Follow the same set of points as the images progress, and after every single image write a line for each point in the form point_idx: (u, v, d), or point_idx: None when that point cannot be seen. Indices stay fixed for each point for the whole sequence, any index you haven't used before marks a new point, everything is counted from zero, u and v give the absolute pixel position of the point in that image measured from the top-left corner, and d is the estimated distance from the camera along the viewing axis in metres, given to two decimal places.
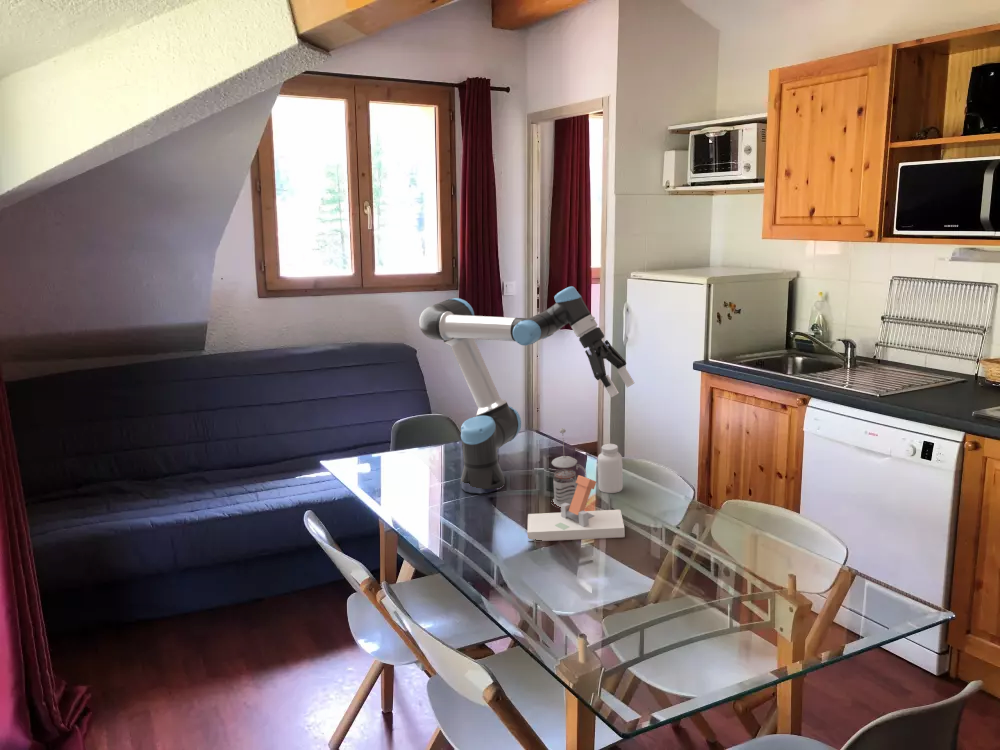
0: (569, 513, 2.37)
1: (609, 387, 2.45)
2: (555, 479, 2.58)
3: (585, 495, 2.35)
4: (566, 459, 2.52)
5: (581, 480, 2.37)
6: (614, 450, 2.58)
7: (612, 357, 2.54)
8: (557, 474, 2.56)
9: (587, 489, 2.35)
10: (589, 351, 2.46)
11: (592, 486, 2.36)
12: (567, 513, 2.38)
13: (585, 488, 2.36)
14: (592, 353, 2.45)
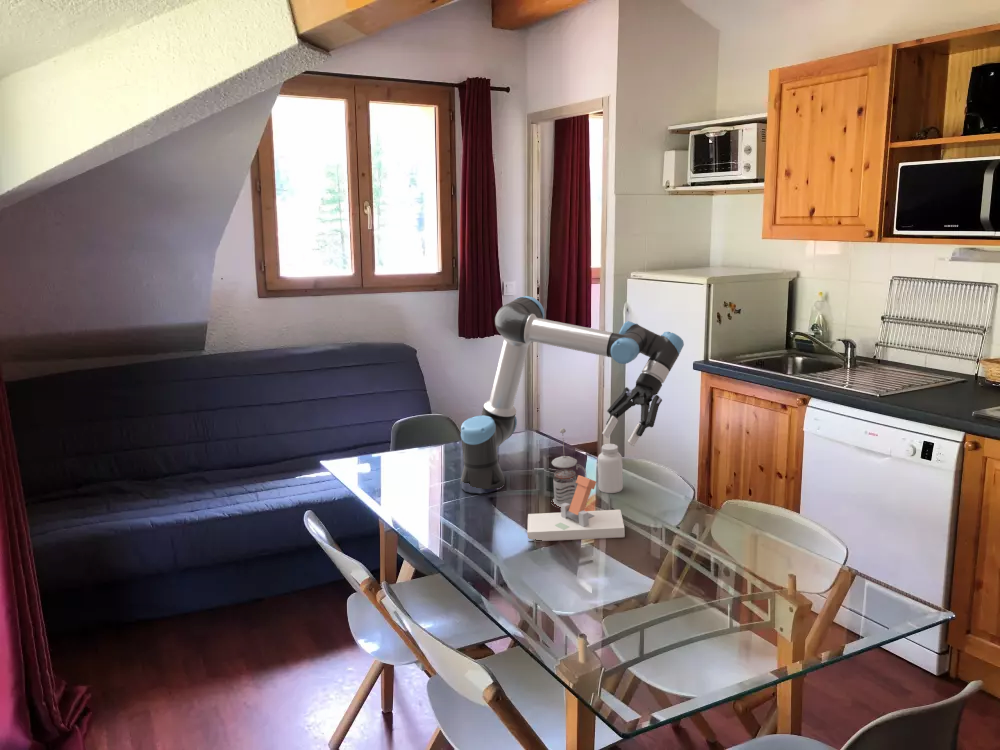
0: (569, 513, 2.37)
1: (636, 435, 2.39)
2: (555, 479, 2.58)
3: (585, 495, 2.35)
4: (566, 459, 2.52)
5: (581, 480, 2.37)
6: (614, 450, 2.58)
7: (628, 407, 2.48)
8: (557, 474, 2.56)
9: (587, 489, 2.35)
10: (659, 400, 2.41)
11: (592, 486, 2.36)
12: (567, 513, 2.38)
13: (585, 488, 2.36)
14: (658, 404, 2.41)
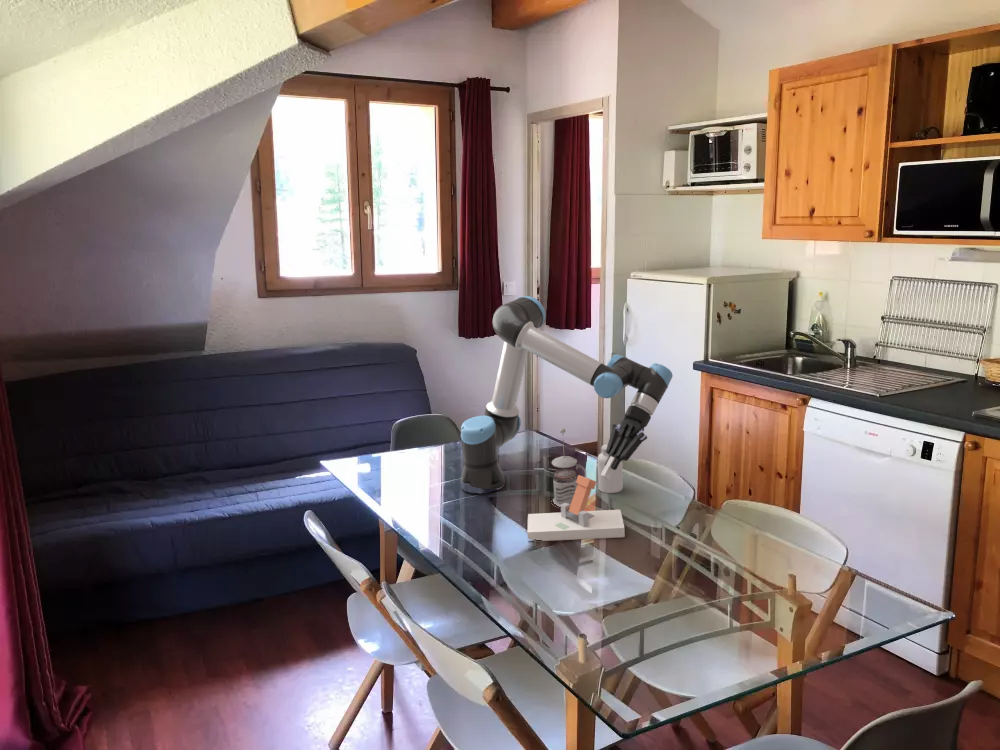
0: (569, 513, 2.37)
1: (610, 469, 2.41)
2: (555, 479, 2.58)
3: (585, 495, 2.35)
4: (566, 459, 2.52)
5: (581, 480, 2.37)
6: None
7: None
8: (557, 474, 2.56)
9: (587, 489, 2.35)
10: (643, 438, 2.40)
11: (592, 486, 2.36)
12: (567, 513, 2.38)
13: (585, 488, 2.36)
14: (641, 441, 2.40)
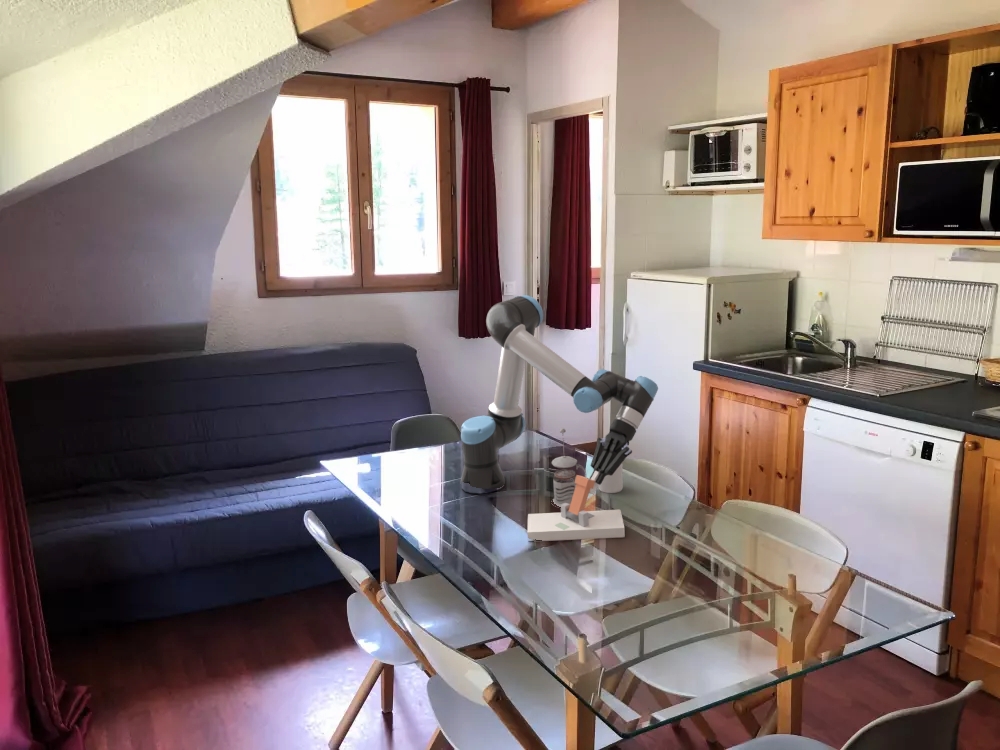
0: (569, 513, 2.37)
1: (595, 484, 2.38)
2: (555, 479, 2.58)
3: (584, 495, 2.35)
4: (566, 459, 2.52)
5: (580, 480, 2.37)
6: None
7: None
8: (557, 474, 2.56)
9: (586, 489, 2.35)
10: (628, 452, 2.37)
11: (591, 485, 2.35)
12: (567, 513, 2.38)
13: (584, 488, 2.35)
14: (626, 455, 2.38)
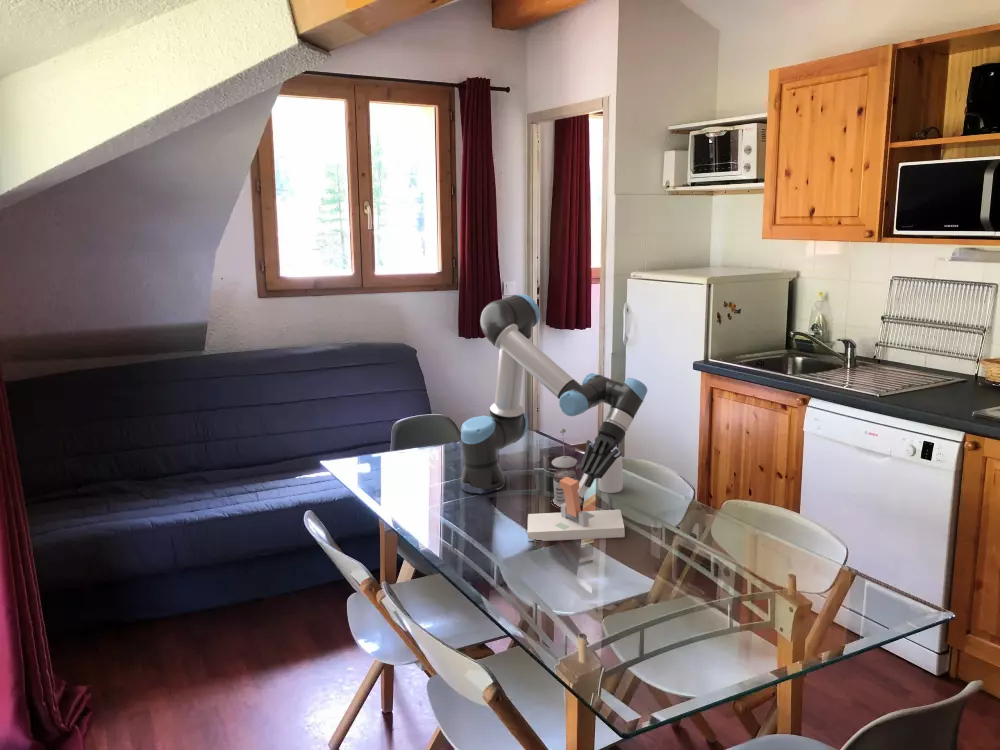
0: (569, 515, 2.37)
1: (584, 487, 2.35)
2: (555, 479, 2.58)
3: (574, 498, 2.33)
4: (566, 459, 2.52)
5: (564, 486, 2.33)
6: None
7: None
8: (557, 474, 2.56)
9: (573, 492, 2.32)
10: (617, 454, 2.34)
11: (576, 487, 2.32)
12: (567, 515, 2.38)
13: (571, 493, 2.32)
14: (616, 457, 2.35)
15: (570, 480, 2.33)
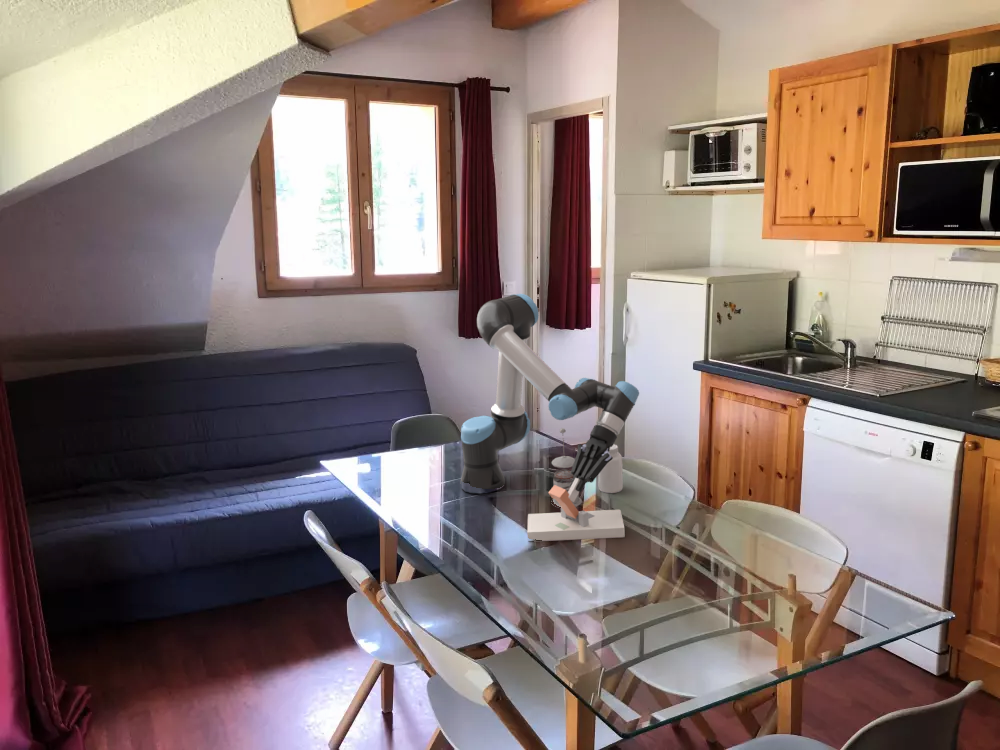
0: (569, 517, 2.37)
1: (575, 491, 2.34)
2: (555, 479, 2.58)
3: (567, 505, 2.32)
4: (566, 459, 2.52)
5: (554, 497, 2.31)
6: (614, 450, 2.58)
7: None
8: (557, 474, 2.56)
9: (565, 501, 2.31)
10: (608, 458, 2.33)
11: (566, 496, 2.30)
12: None
13: (562, 501, 2.31)
14: (607, 461, 2.33)
15: (558, 490, 2.31)
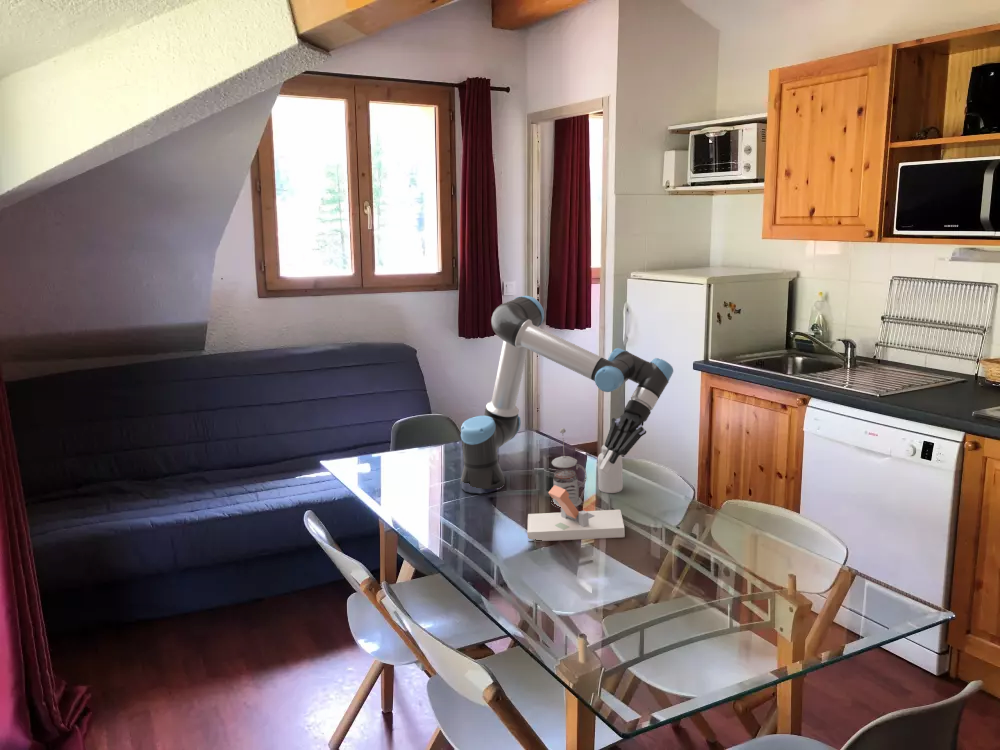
0: (569, 517, 2.37)
1: (609, 463, 2.41)
2: (555, 479, 2.58)
3: (567, 505, 2.32)
4: (566, 459, 2.52)
5: (554, 497, 2.31)
6: None
7: (622, 437, 2.44)
8: (557, 474, 2.56)
9: (565, 501, 2.31)
10: (642, 432, 2.40)
11: (566, 496, 2.30)
12: None
13: None
14: (640, 435, 2.40)
15: (558, 490, 2.31)
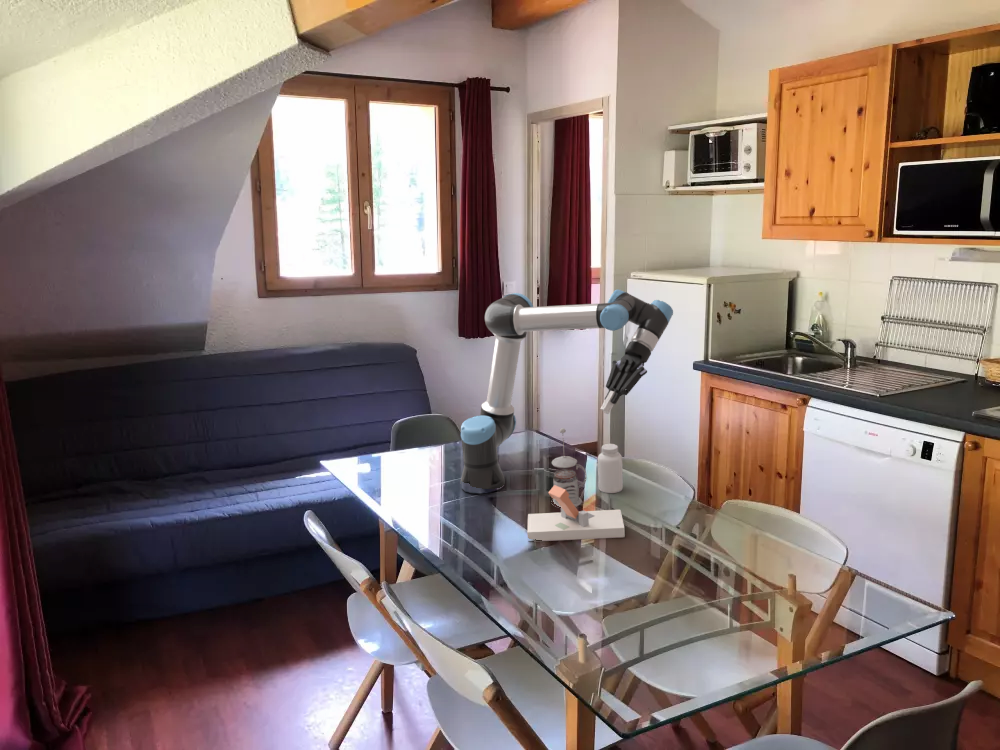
0: (569, 517, 2.37)
1: (610, 403, 2.42)
2: (555, 479, 2.58)
3: (567, 505, 2.32)
4: (566, 459, 2.52)
5: (554, 497, 2.31)
6: (614, 450, 2.58)
7: None
8: (557, 474, 2.56)
9: (565, 501, 2.31)
10: (643, 372, 2.40)
11: (566, 496, 2.30)
12: None
13: None
14: (641, 375, 2.41)
15: (558, 490, 2.31)
